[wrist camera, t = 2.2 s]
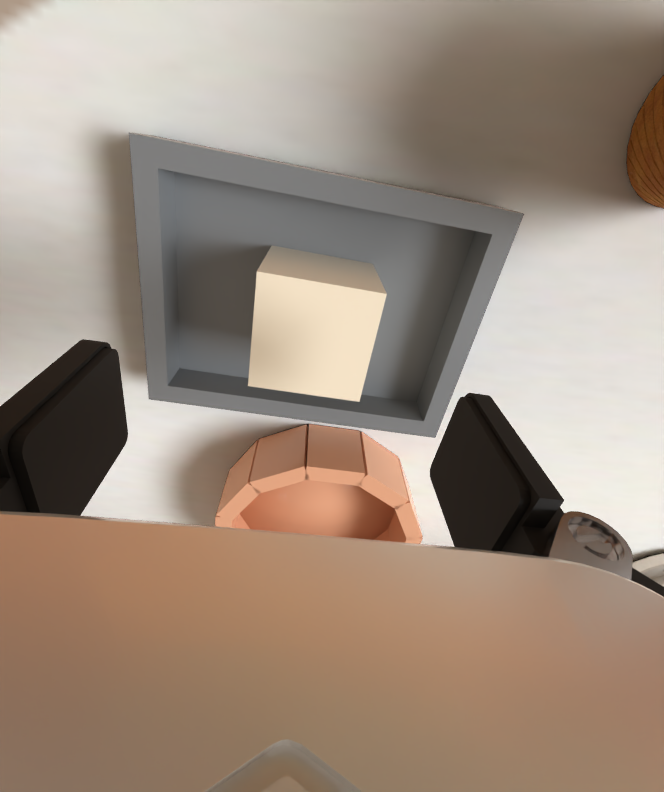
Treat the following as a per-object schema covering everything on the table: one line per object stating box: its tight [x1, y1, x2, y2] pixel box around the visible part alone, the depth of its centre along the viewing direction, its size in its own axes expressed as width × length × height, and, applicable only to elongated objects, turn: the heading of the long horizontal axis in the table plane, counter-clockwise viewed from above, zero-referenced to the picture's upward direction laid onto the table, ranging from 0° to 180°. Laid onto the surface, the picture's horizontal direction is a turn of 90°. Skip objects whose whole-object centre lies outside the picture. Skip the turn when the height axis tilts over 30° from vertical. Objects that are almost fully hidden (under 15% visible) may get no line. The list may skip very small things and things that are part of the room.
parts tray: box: [129, 133, 524, 438], centre depth 20 cm, size 16×12×2 cm
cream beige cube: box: [248, 246, 387, 402], centre depth 18 cm, size 5×5×5 cm
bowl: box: [215, 424, 423, 544], centre depth 27 cm, size 13×13×4 cm
